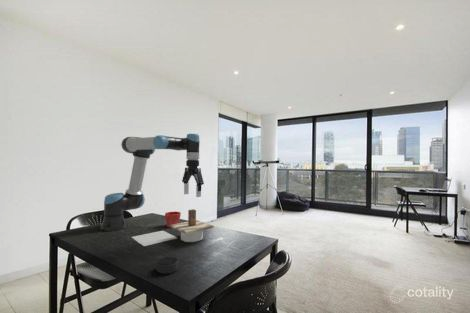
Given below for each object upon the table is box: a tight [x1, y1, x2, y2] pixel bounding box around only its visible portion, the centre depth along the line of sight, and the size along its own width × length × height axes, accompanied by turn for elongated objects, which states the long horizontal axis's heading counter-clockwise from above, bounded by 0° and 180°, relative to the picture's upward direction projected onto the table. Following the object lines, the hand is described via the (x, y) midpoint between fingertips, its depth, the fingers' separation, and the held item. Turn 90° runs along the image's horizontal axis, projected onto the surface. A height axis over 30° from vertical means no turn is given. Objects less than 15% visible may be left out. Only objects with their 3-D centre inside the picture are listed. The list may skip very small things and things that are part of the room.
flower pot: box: [164, 211, 182, 229], centre depth 160 cm, size 11×11×10 cm
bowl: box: [180, 230, 204, 243], centre depth 134 cm, size 12×12×7 cm
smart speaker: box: [156, 256, 179, 275], centre depth 96 cm, size 9×9×4 cm
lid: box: [171, 208, 214, 234], centre depth 134 cm, size 18×18×10 cm
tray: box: [131, 230, 178, 247], centre depth 135 cm, size 20×20×1 cm
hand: (192, 195), depth 135 cm, fingers open, 13 cm apart
